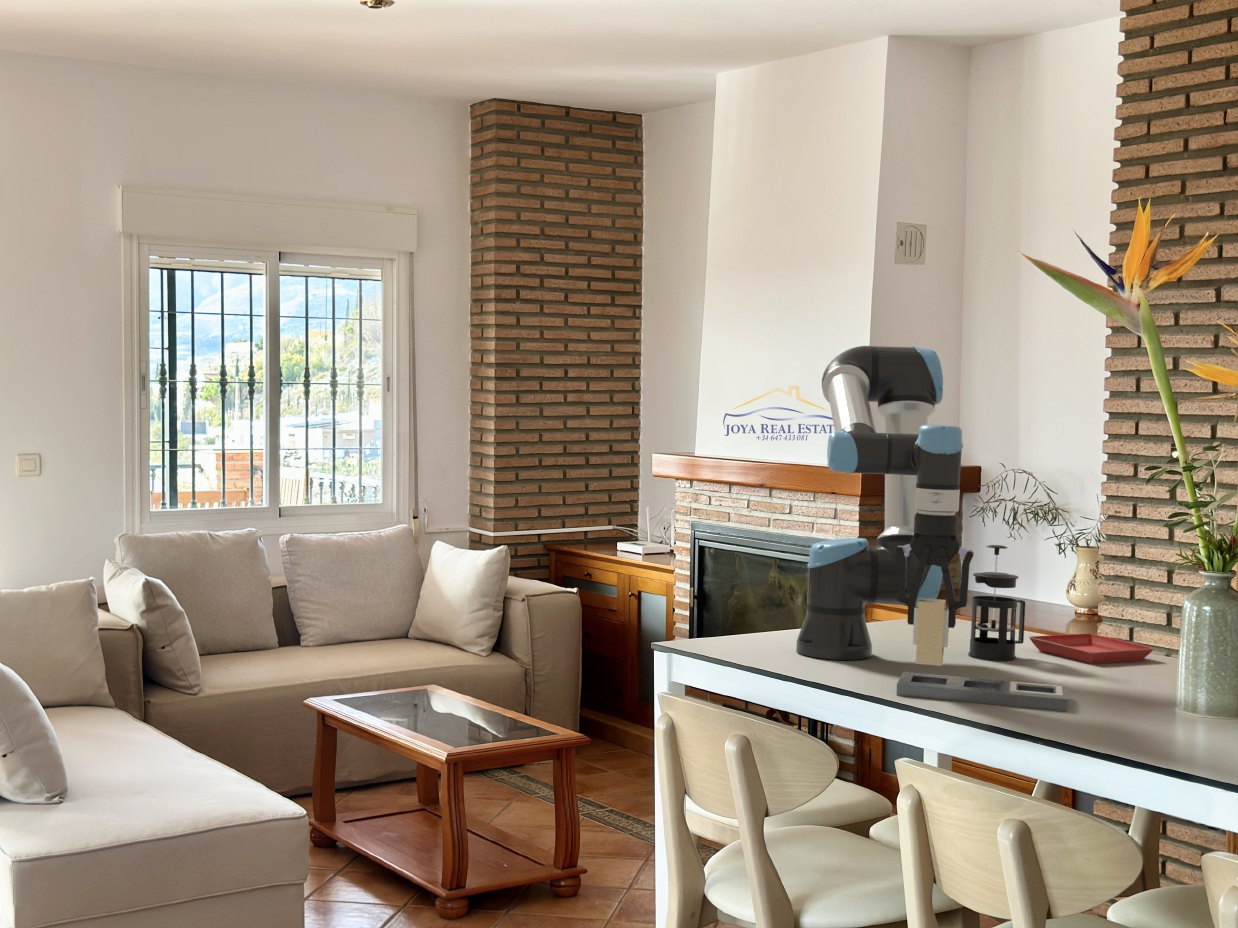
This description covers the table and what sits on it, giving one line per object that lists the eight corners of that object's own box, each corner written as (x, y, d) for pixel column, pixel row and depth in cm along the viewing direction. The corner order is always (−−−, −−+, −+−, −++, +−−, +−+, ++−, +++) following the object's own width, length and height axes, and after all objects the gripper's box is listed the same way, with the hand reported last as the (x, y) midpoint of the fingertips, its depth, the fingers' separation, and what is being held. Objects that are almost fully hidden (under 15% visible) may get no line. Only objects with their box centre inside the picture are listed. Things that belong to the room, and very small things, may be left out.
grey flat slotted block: (896, 694, 230) (897, 681, 230) (902, 682, 241) (903, 669, 241) (1066, 711, 222) (1067, 697, 222) (1065, 697, 233) (1065, 684, 233)
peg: (915, 663, 233) (918, 601, 232) (917, 658, 237) (920, 597, 237) (941, 665, 232) (944, 603, 231) (943, 661, 236) (945, 599, 235)
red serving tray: (1155, 662, 274) (1156, 647, 274) (1090, 667, 266) (1091, 651, 266) (1088, 647, 290) (1089, 632, 290) (1026, 651, 282) (1026, 636, 282)
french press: (977, 661, 267) (982, 547, 266) (957, 652, 276) (962, 542, 275) (1031, 661, 269) (1037, 548, 268) (1010, 652, 278) (1015, 543, 277)
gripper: (883, 511, 232) (877, 643, 233) (987, 517, 227) (980, 652, 228) (888, 508, 239) (882, 636, 240) (988, 514, 234) (982, 645, 235)
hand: (930, 644), depth 234 cm, fingers closed on peg, 4 cm apart
